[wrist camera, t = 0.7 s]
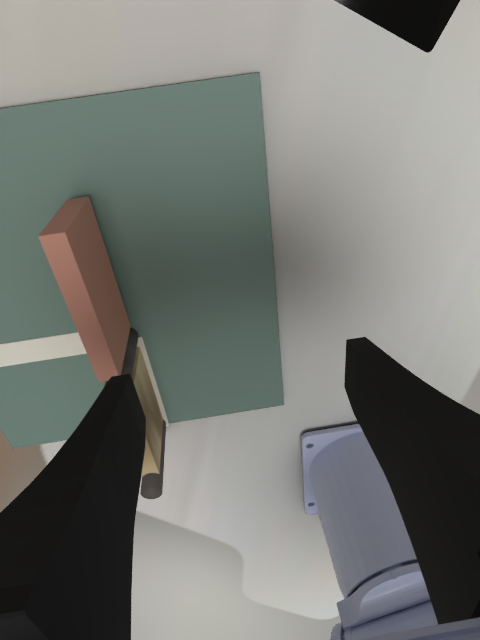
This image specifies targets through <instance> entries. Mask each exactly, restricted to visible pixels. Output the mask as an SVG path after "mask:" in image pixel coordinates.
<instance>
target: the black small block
mask: <svg viewBox="0 0 480 640" xmlns="http://www.w3.org/2000/svg"><path fill="white" fill-rule="evenodd" d="M335 1H337V2H338V3H340V4H342V5H344V6H345V7H347V8H349V9H351V10H353V11H354V12H356V13H358V14H360V15H361V16H363V17H365V18H367V19H368V20H370V21H372V22H374V23H375V24H377V25H379V26H381V27H382V28H384V29H386V30H388V31H390V32H391V33H393V34H395V35H397V36H398V37H400V38H402V39H404V40H405V41H407V42H409V43H411V44H412V45H414V46H416V47H418V48H419V49H421V50H423V51H425V52H430V51H431V50H432V49H433V48H434V46H435V44H436V42H437V40H438V39H439V37H440V35H441V33H442V32H443V30H444V28H445V26H446V25H447V23H448V21H449V19H450V17H451V16H452V14H453V12H454V10H455V9H456V7H457V5H458V3H459V1H460V0H335Z"/></svg>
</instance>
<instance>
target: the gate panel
mask: <svg viewBox="0 0 480 640" xmlns="http://www.w3.org/2000/svg"><path fill="white" fill-rule="evenodd" d="M38 238H39V240H40V242H41V245H42V247H43V250H44V252H45V254H46V257H47V259H48V261H49V264H50V266H51V269H52V271H53V273H54V276H55V278H56V281H57V283H58V285H59V288H60V290H61V293H62V295H63V297H64V300H65V302H66V305H67V307H68V309H69V312H70V314H71V317H72V319H73V321H74V324H75V326H76V329H77V331H78V333H79V336H80V338H81V341H82V343H83V345H84V348H85V350H86V353H87V355H88V357H89V360H90V362H91V365H92V367H93V369H94V372H95V374H96V377H97V379H98V381H99V382H103V381H108V380H109V379H110V378H111V377H112V376H118V375H121V371H122V366H123V361H124V357H125V352H126V347H127V342H128V337H129V332H130V327H131V325H130V322H129V319H128V316H127V313H126V310H125V306H124V303H123V300H122V297H121V294H120V291H119V288H118V285H117V282H116V279H115V276H114V272H113V269H112V266H111V263H110V260H109V257H108V254H107V251H106V248H105V245H104V242H103V238H102V235H101V232H100V229H99V226H98V223H97V220H96V217H95V214H94V211H93V207H92V204H91V201H90V198H89V196H88V197H81V198H74V199H67V200H66V202H65V203H64V204H63V205H62V207H61V208H60V209H59V210H58V212H57V213H56V214H55V216H54V217H53V218H52V219H51V221H50V222H49V223H48V224H47V226H46V227H45V228H44V229H43V231H42V232H41V233H40V234H39V236H38Z"/></svg>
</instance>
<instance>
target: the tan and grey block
mask: <svg viewBox="0 0 480 640" xmlns="http://www.w3.org/2000/svg"><path fill="white" fill-rule="evenodd" d="M137 343H138V332H137V331H136V330H135V329H133V328H131V327H130V332H129V337H128V342H127V347H126V352H125V357H124V361H123V366H122V371H121V375H125V374H131V377H132V380H133V383H134V385H135V388H136V391H137V394H138V397H139V400H140V403H141V405H142V408H143V411H144V414H145V417H146V441H145V453H144V460H143V467H142V485H141V495H142V496H143V497H144V498H147V499H155V498H158V497H160V496H161V495H162V486H163V468H164V450H165V432H166V422H165V420H164V419H163V417H162V414H161V411H160V408H159V405H158V402H157V399H156V395H155V392H154V389H153V386H152V383H151V380H150V377H149V374H148V370H147V367H146V364H145V361H144V358H143V355H142V352H141V348H140V347H137ZM107 382H108V381H105V385H106V383H107ZM105 385H104V386H105Z"/></svg>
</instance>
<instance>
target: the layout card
mask: <svg viewBox="0 0 480 640" xmlns="http://www.w3.org/2000/svg"><path fill="white" fill-rule="evenodd" d="M88 196H89V198H90V201H91V204H92V207H93V211H94V214H95V217H96V220H97V223H98V226H99V229H100V232H101V235H102V238H103V242H104V245H105V248H106V251H107V254H108V257H109V260H110V263H111V266H112V269H113V272H114V276H115V279H116V282H117V285H118V288H119V291H120V294H121V297H122V300H123V303H124V306H125V310H126V313H127V316H128V319H129V322H130V325H131V328H133V329H135V330H136V331H137V332H138V343H137V347H140V348H141V352H142V355H143V358H144V361H145V364H146V367H147V370H148V374H149V377H150V380H151V383H152V386H153V389H154V392H155V395H156V399H157V402H158V405H159V408H160V411H161V414H162V417H163V419H164V420H165V422H166V427H168V426H170V425H169V423H175V422H181V421H187V420H193V419H199V418H206V417H212V416H218V415H224V414H230V413H236V412H243V411H249V410H255V409H261V408H267V407H274V406H280V405H284V396H283V383H282V369H281V356H280V342H279V329H278V315H277V302H276V288H275V274H274V261H273V247H272V234H271V220H270V207H269V193H268V179H267V166H266V152H265V139H264V125H263V112H262V98H261V85H260V73H259V72H257V73H250V74H243V75H235V76H228V77H221V78H214V79H207V80H200V81H192V82H185V83H178V84H171V85H164V86H156V87H149V88H142V89H135V90H128V91H121V92H113V93H106V94H99V95H92V96H85V97H78V98H70V99H63V100H56V101H49V102H42V103H35V104H27V105H20V106H13V107H6V108H0V429H1V431H2V433H3V434H4V435H5V437H6V439H7V440H8V442H9V443H10V445H11V446H12V448H19V447H26V446H32V445H38V444H44V443H51V442H57V441H63V440H68V439H69V437H70V436H71V435H72V433H73V432H74V431H75V429H76V428H77V426H78V425H79V424H80V422H81V421H82V419H83V418H84V416H85V415H86V414H87V412H88V411H89V409H90V408H91V406H92V405H93V403H94V402H95V400H96V399H97V397H98V396H99V394H100V393H101V391H102V389H103V388H104V385H105V381H103V382H99V381H98V379H97V377H96V374H95V372H94V369H93V367H92V365H91V362H90V360H89V357H88V355H87V353H86V350H85V348H84V345H83V343H82V341H81V338H80V336H79V333H78V331H77V329H76V326H75V324H74V321H73V319H72V317H71V314H70V312H69V309H68V307H67V305H66V302H65V300H64V297H63V295H62V293H61V290H60V288H59V285H58V283H57V281H56V278H55V276H54V273H53V271H52V269H51V266H50V264H49V261H48V259H47V257H46V254H45V252H44V250H43V247H42V245H41V242H40V240H39V238H38V236H39V234H40V233H41V232H42V231H43V229H44V228H45V227H46V226H47V224H48V223H49V222H50V221H51V219H52V218H53V217H54V216H55V214H56V213H57V212H58V210H59V209H60V208H61V207H62V205H63V204H64V203H65V202H66V200H67V199H74V198H81V197H88Z"/></svg>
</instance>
